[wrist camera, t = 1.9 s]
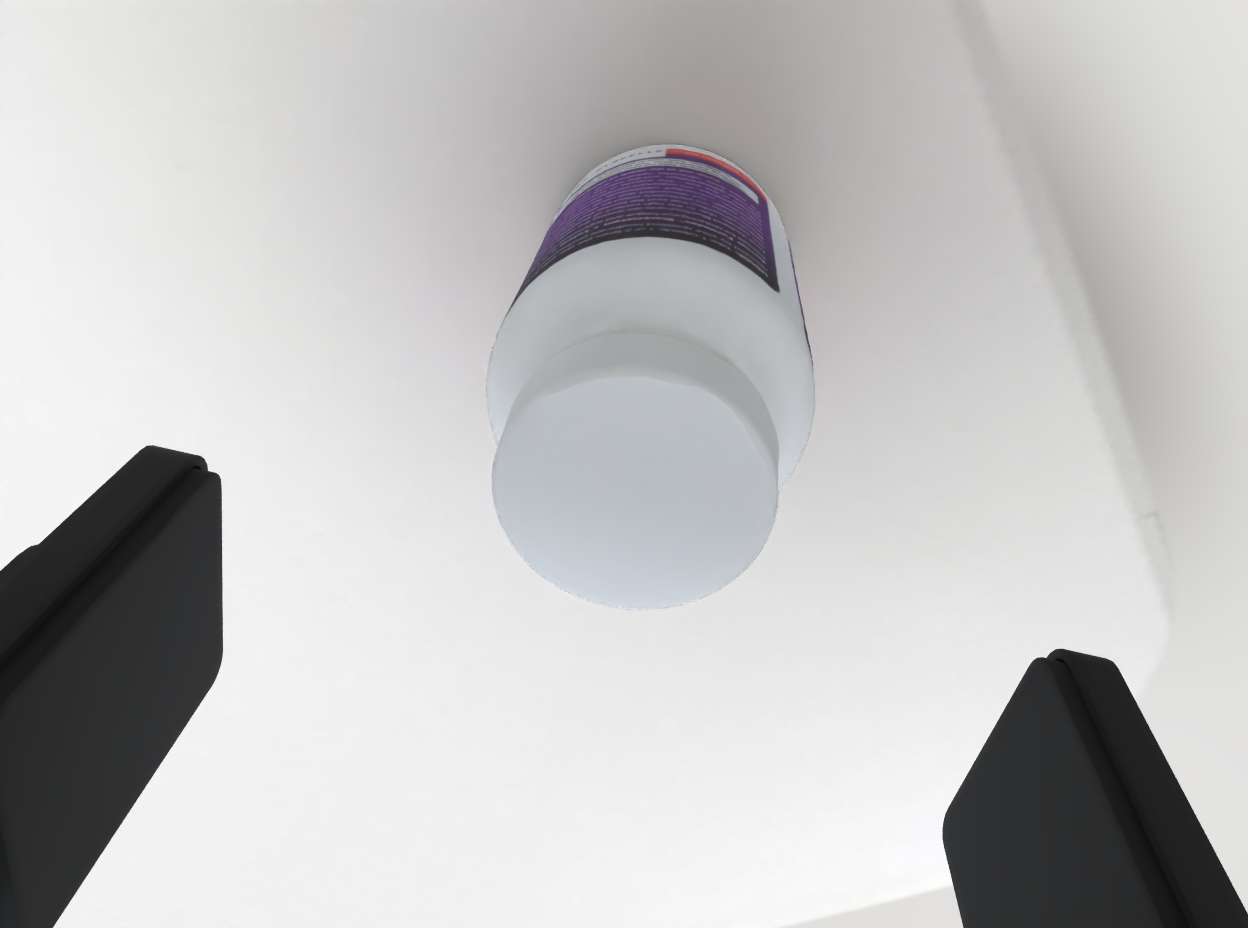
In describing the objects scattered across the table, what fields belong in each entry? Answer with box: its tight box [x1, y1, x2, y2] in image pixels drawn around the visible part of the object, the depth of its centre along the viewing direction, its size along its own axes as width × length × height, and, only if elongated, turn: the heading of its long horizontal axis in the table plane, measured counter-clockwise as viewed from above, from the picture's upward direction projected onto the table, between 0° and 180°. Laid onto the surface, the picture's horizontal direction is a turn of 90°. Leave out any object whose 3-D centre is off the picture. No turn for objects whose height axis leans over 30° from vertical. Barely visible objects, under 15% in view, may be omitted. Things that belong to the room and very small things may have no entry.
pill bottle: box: [486, 144, 815, 610], centre depth 17 cm, size 5×5×10 cm
